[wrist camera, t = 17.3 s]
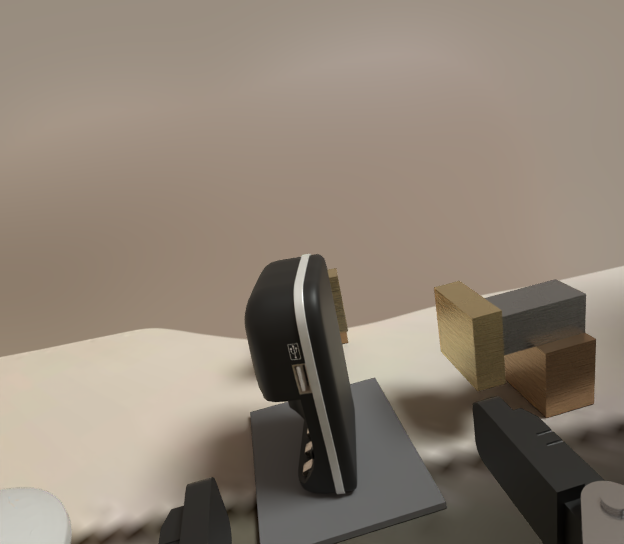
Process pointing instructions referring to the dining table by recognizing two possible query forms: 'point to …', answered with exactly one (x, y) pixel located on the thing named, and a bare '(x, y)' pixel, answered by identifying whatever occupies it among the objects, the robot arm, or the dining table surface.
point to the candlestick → (33, 517)
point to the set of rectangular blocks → (514, 341)
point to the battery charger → (305, 367)
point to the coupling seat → (353, 504)
